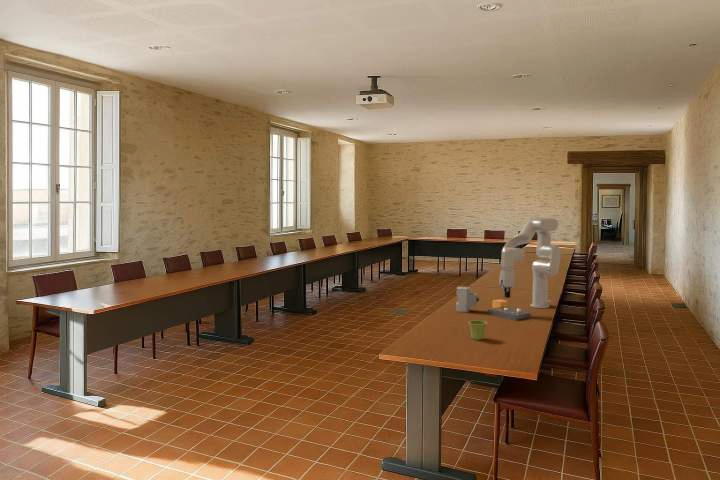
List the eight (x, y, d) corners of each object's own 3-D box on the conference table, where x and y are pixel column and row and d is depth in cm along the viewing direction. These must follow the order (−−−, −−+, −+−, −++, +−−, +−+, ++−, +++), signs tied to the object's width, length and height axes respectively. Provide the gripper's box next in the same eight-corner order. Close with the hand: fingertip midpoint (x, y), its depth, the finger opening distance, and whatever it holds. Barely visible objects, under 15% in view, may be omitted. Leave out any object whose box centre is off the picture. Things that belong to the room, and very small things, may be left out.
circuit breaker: (478, 312, 350) (479, 289, 348) (456, 311, 352) (456, 288, 351) (478, 310, 357) (479, 287, 356) (456, 309, 360) (456, 286, 358)
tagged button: (505, 313, 348) (506, 307, 347) (508, 313, 346) (509, 308, 345) (503, 313, 346) (503, 308, 346) (506, 314, 344) (506, 308, 344)
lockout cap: (499, 307, 367) (499, 299, 366) (507, 309, 361) (507, 300, 360) (492, 308, 363) (492, 300, 362) (500, 310, 357) (500, 302, 356)
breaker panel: (502, 311, 355) (503, 306, 354) (530, 317, 336) (530, 312, 336) (487, 313, 347) (487, 308, 346) (515, 320, 329) (515, 315, 328)
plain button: (518, 313, 339) (518, 308, 339) (521, 314, 337) (521, 309, 337) (515, 314, 338) (516, 308, 338) (519, 315, 336) (519, 309, 336)
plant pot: (466, 339, 284) (466, 323, 283) (470, 335, 293) (470, 319, 292) (484, 341, 280) (485, 325, 280) (488, 337, 289) (488, 321, 288)
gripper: (510, 266, 351) (510, 294, 353) (494, 269, 343) (494, 298, 345) (520, 268, 345) (520, 296, 347) (504, 270, 336) (503, 300, 338)
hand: (507, 297), depth 346 cm, fingers closed
